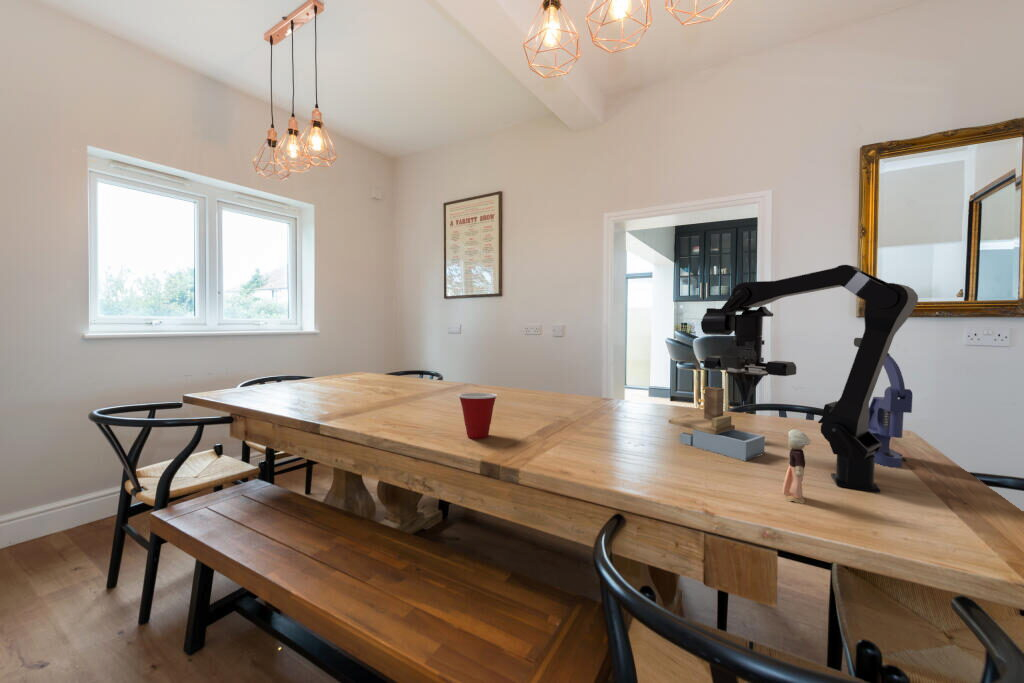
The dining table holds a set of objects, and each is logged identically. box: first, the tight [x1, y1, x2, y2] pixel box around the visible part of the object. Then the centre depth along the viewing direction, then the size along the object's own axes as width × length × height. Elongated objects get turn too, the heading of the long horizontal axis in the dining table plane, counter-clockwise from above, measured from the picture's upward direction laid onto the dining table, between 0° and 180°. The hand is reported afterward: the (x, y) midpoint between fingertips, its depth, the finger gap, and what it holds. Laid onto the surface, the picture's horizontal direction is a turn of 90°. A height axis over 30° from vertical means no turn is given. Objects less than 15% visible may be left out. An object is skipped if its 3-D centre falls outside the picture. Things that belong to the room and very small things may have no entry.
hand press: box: [853, 337, 913, 469], centre depth 95 cm, size 19×9×28 cm, turn 164°
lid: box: [668, 414, 736, 435], centre depth 106 cm, size 13×9×4 cm
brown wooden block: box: [703, 386, 725, 420], centre depth 112 cm, size 4×4×14 cm
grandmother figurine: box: [781, 428, 811, 504], centre depth 72 cm, size 8×4×13 cm, turn 159°
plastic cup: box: [457, 392, 498, 440], centre depth 111 cm, size 11×11×12 cm
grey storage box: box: [679, 428, 766, 462], centre depth 102 cm, size 17×9×4 cm, turn 34°
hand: (745, 401), depth 96 cm, fingers closed
